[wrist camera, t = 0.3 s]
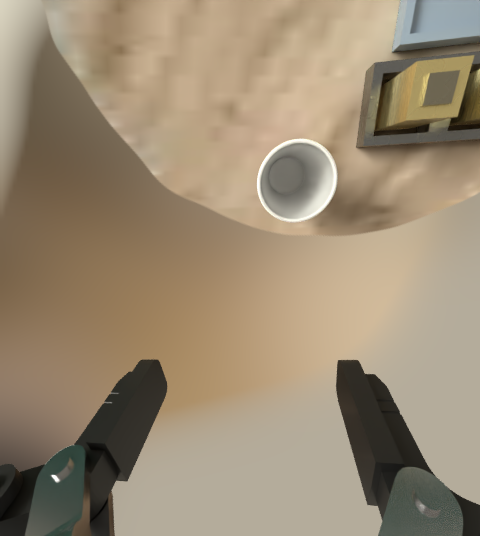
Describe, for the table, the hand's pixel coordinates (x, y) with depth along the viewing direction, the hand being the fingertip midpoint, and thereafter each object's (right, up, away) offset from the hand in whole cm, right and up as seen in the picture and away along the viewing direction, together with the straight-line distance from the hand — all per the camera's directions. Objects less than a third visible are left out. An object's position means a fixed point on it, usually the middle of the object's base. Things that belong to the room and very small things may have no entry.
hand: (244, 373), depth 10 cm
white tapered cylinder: (+6, +18, +23) cm, 30 cm away
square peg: (+19, +24, +18) cm, 36 cm away
